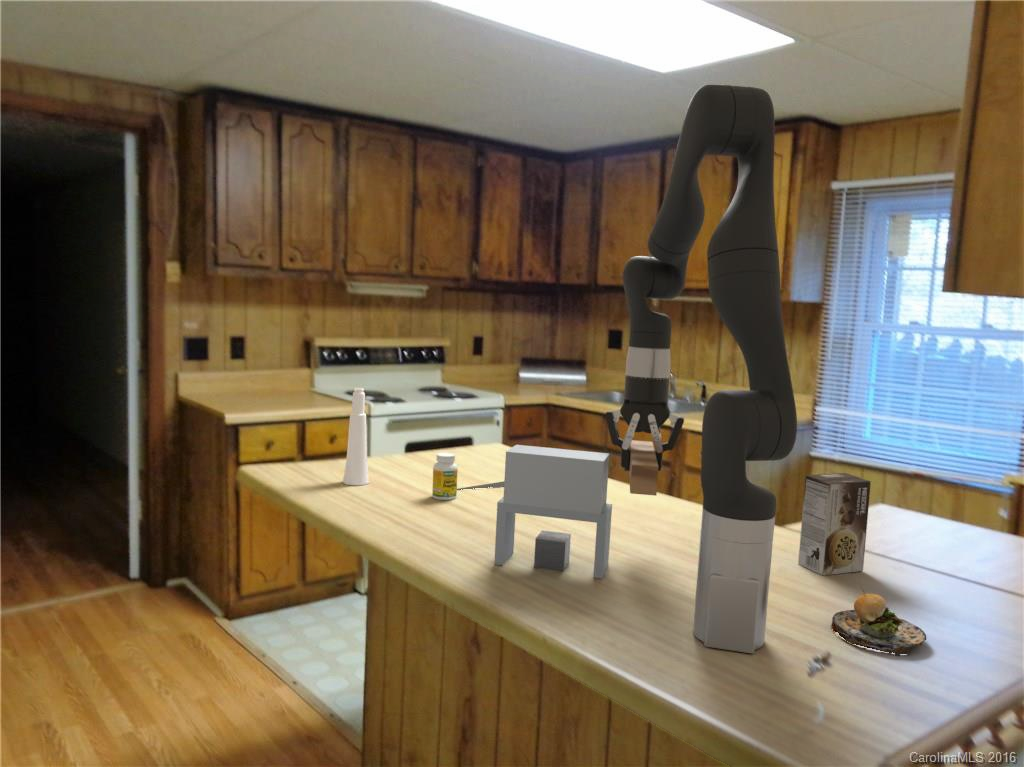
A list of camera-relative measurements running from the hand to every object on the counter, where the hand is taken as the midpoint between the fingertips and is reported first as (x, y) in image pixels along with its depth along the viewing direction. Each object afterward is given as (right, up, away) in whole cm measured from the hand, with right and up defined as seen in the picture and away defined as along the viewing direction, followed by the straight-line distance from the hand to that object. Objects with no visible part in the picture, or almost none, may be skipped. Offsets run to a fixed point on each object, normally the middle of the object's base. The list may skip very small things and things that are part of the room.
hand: (641, 471), depth 135 cm
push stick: (-1, -1, -4) cm, 4 cm away
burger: (+28, -20, -28) cm, 44 cm away
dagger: (-24, -10, +50) cm, 57 cm away
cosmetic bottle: (-59, -8, +44) cm, 74 cm away
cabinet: (-16, -15, -6) cm, 22 cm away
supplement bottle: (-37, -10, +35) cm, 52 cm away
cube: (-16, -15, -6) cm, 23 cm away
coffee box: (+33, -17, 0) cm, 37 cm away
